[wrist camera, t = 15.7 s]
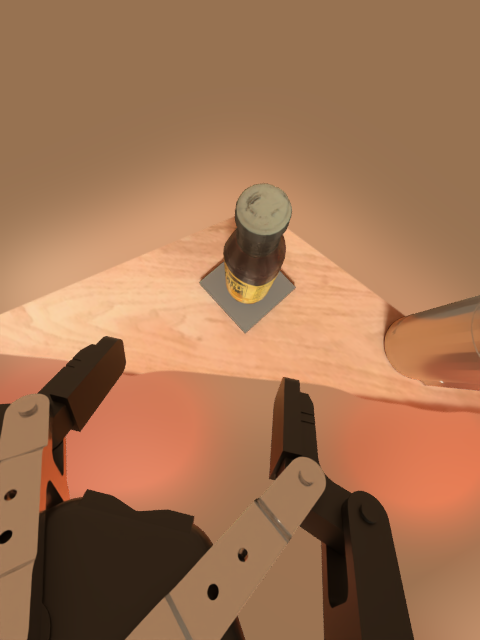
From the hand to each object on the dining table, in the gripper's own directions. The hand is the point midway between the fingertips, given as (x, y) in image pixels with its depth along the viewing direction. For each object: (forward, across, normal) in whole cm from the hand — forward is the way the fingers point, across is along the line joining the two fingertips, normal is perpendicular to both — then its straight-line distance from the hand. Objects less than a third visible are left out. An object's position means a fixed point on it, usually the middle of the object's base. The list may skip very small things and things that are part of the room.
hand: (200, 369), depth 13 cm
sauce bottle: (+25, 0, +8) cm, 26 cm away
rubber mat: (+26, 0, +9) cm, 27 cm away
